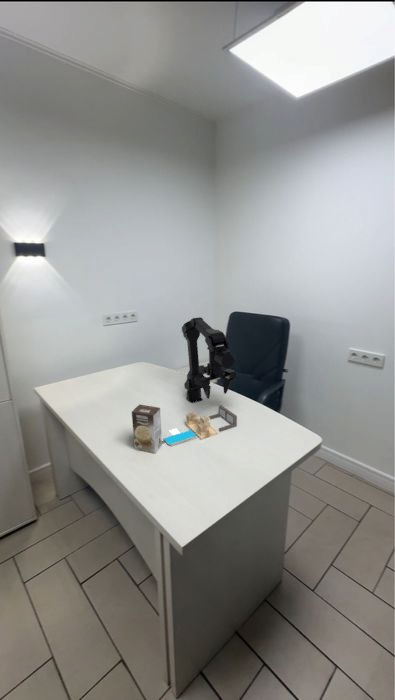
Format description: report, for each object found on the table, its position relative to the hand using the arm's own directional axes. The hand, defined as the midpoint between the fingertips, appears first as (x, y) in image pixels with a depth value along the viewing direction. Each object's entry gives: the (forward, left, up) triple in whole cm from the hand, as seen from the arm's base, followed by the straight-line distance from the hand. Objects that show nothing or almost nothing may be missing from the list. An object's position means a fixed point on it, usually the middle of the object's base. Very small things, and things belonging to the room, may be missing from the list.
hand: (216, 396), depth 134 cm
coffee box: (+33, +4, -12) cm, 36 cm away
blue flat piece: (+20, +3, -13) cm, 24 cm away
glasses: (0, +3, -12) cm, 12 cm away
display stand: (+10, +3, -12) cm, 16 cm away
